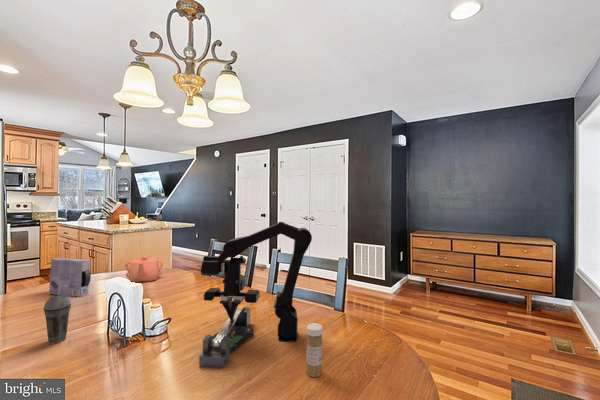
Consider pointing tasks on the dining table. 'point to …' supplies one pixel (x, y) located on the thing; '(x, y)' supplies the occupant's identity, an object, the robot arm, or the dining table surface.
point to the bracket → (221, 359)
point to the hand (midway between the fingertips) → (231, 319)
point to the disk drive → (236, 337)
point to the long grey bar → (226, 328)
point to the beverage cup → (57, 316)
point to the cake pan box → (70, 277)
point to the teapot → (143, 269)
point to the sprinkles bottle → (314, 349)
